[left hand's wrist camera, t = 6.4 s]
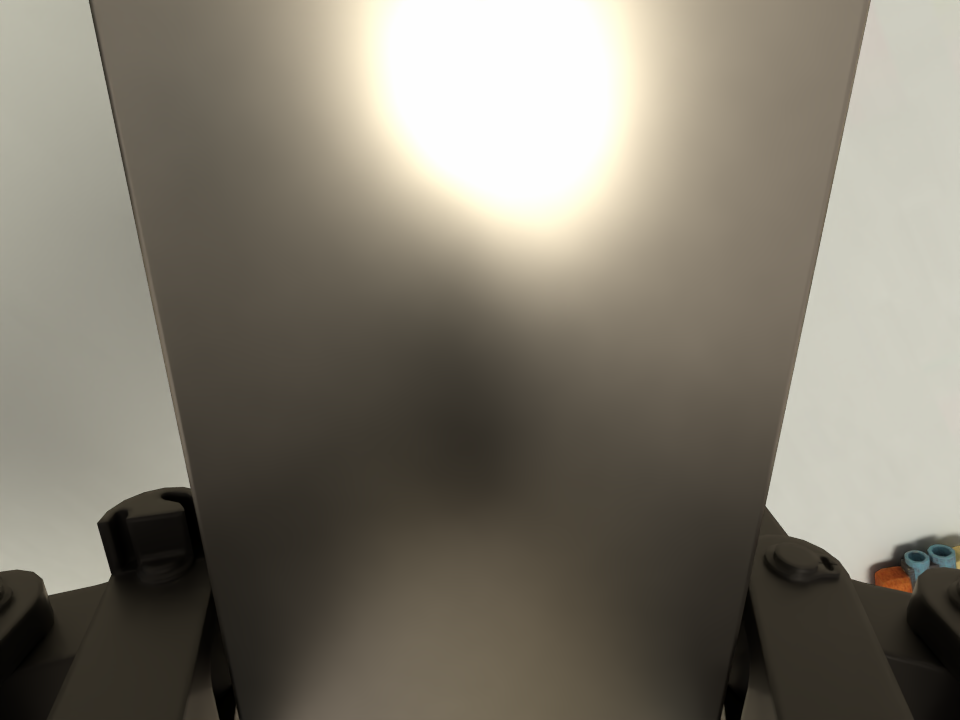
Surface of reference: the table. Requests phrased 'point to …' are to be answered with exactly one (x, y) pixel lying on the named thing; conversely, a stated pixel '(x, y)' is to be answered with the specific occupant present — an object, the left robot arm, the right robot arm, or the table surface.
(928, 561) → the toy gun
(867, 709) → the left robot arm
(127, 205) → the table surface
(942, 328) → the table surface
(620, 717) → the bar
